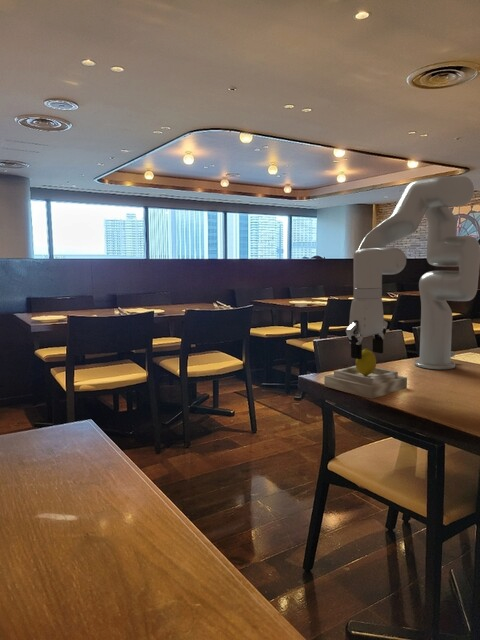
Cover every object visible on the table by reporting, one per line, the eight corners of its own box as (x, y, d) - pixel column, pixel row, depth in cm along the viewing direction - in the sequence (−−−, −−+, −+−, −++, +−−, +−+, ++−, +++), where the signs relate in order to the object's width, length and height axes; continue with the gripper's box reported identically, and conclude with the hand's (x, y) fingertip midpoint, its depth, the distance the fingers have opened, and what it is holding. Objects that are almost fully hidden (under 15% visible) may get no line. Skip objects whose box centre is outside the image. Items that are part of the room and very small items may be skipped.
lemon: (373, 374, 131) (374, 346, 130) (377, 379, 126) (378, 350, 125) (353, 374, 132) (354, 346, 131) (356, 378, 126) (357, 350, 125)
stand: (359, 377, 140) (359, 362, 140) (406, 387, 128) (407, 371, 127) (324, 386, 130) (324, 370, 130) (371, 398, 118) (372, 381, 117)
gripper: (375, 291, 134) (374, 348, 136) (336, 296, 123) (336, 358, 126) (397, 292, 128) (397, 352, 131) (359, 297, 118) (359, 363, 120)
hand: (367, 355), depth 128 cm, fingers open, 9 cm apart
